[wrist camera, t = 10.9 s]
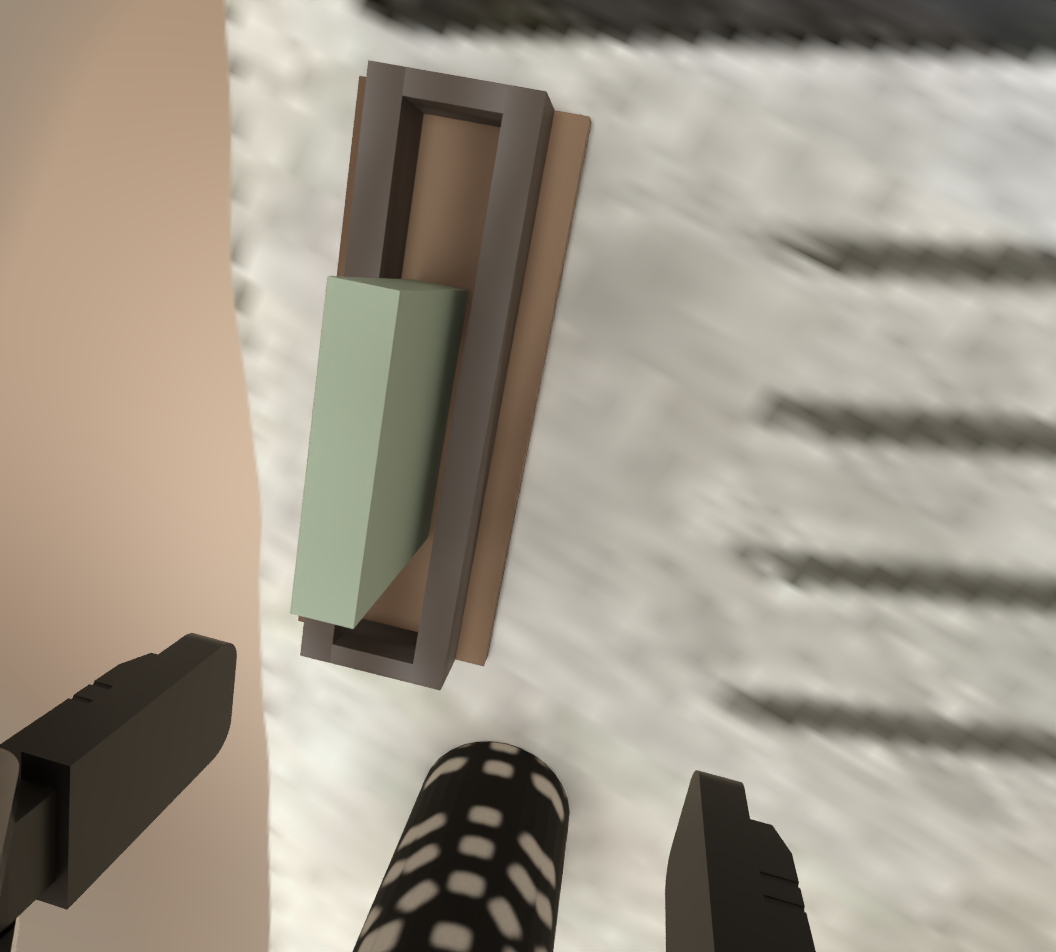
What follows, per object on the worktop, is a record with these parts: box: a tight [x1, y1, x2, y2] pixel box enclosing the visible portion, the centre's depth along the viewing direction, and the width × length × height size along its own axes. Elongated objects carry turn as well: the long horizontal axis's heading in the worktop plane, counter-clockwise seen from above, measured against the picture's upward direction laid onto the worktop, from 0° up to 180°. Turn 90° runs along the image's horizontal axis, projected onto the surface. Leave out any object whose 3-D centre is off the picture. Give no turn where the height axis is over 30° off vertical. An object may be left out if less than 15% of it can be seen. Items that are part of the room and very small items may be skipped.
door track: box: [298, 60, 591, 690], centre depth 33 cm, size 10×26×4 cm, turn 169°
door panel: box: [290, 276, 469, 629], centre depth 29 cm, size 2×12×10 cm, turn 169°
